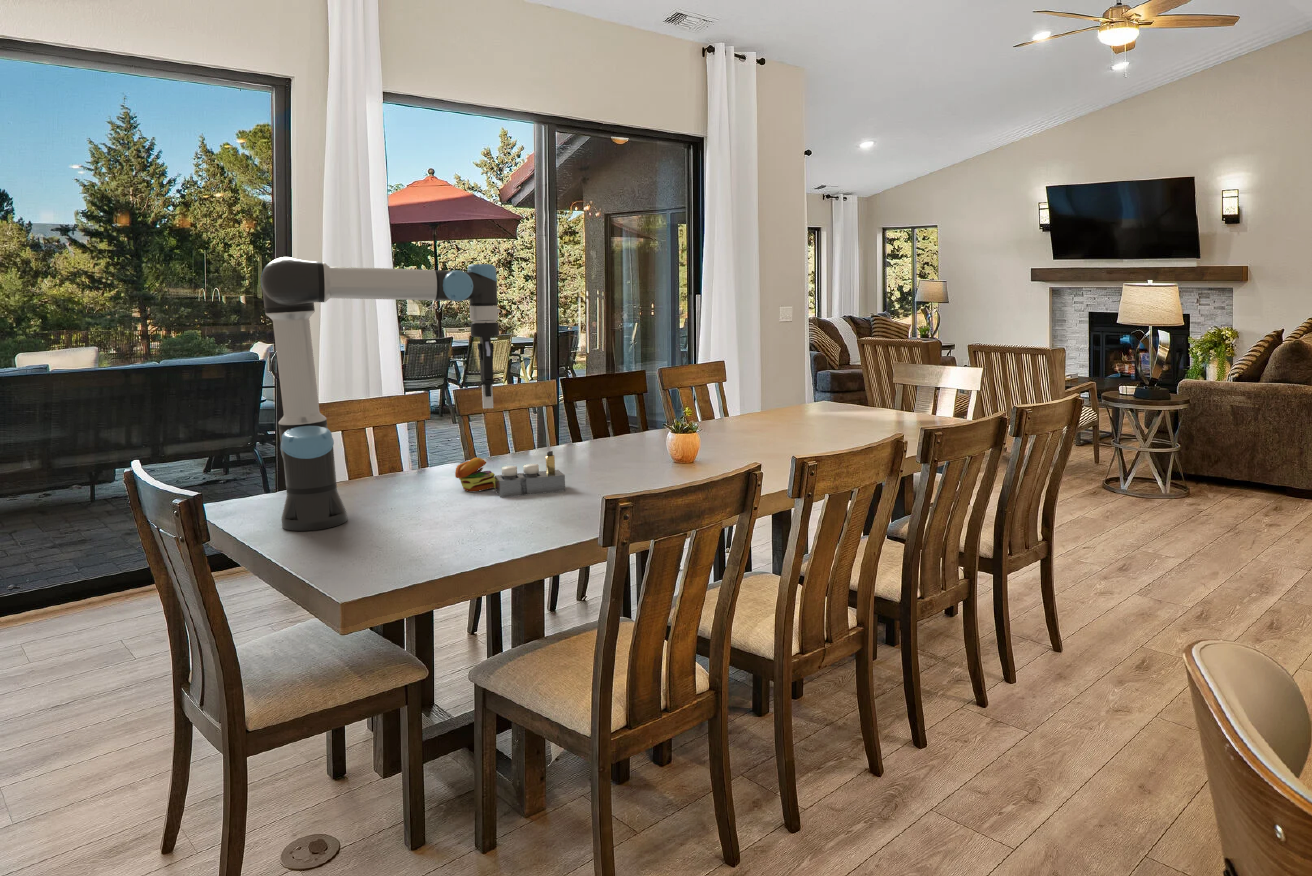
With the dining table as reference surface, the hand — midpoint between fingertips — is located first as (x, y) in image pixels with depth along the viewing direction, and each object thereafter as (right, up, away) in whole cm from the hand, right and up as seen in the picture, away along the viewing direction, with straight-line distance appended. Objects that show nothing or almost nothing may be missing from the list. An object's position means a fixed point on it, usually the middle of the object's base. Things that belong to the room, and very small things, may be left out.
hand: (488, 407), depth 254 cm
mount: (+11, -23, +2) cm, 26 cm away
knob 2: (+12, -23, +2) cm, 26 cm away
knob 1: (+6, -23, 0) cm, 24 cm away
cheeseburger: (-4, -23, +7) cm, 24 cm away
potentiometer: (+17, -18, +3) cm, 25 cm away
